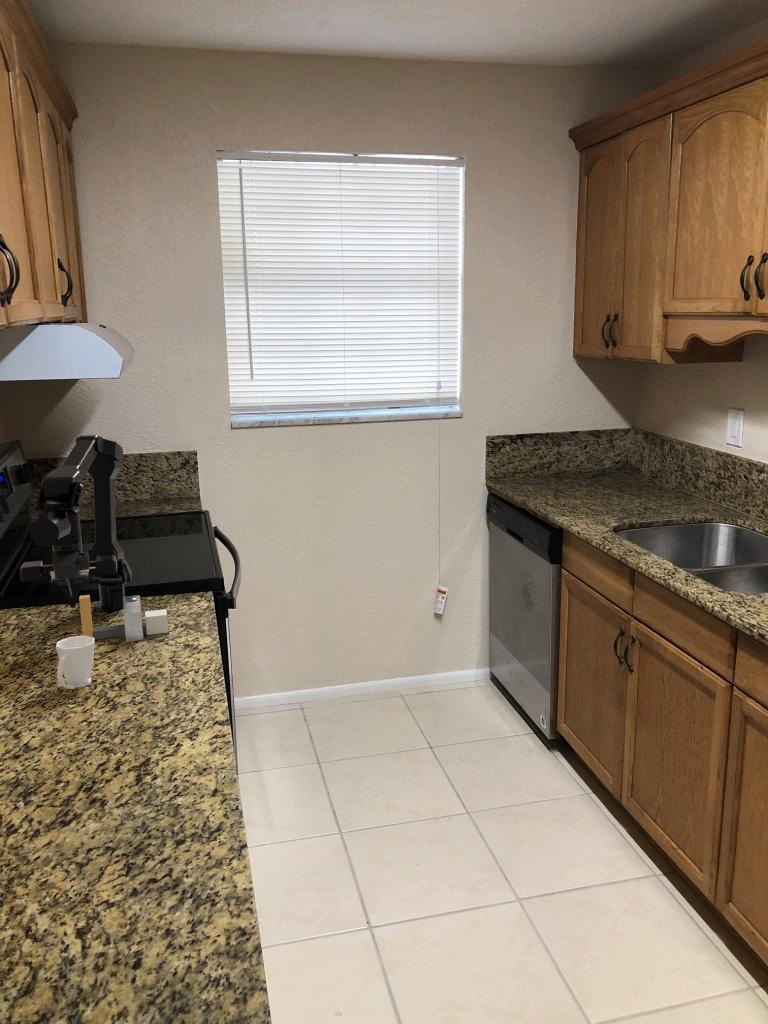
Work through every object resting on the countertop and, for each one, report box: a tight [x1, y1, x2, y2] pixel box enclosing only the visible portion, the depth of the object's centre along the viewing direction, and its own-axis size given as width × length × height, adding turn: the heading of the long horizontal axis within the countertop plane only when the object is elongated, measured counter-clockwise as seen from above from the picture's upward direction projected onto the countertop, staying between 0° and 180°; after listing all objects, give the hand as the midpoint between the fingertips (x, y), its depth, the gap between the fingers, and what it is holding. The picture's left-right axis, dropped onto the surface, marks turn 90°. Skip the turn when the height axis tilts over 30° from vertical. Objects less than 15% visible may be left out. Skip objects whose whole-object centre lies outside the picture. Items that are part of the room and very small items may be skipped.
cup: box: [55, 635, 96, 690], centre depth 151 cm, size 7×10×8 cm
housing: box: [123, 595, 144, 643], centre depth 179 cm, size 4×12×6 cm, turn 17°
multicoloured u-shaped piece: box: [78, 594, 169, 641], centre depth 177 cm, size 18×4×9 cm, turn 107°
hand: (73, 607), depth 174 cm, fingers closed
